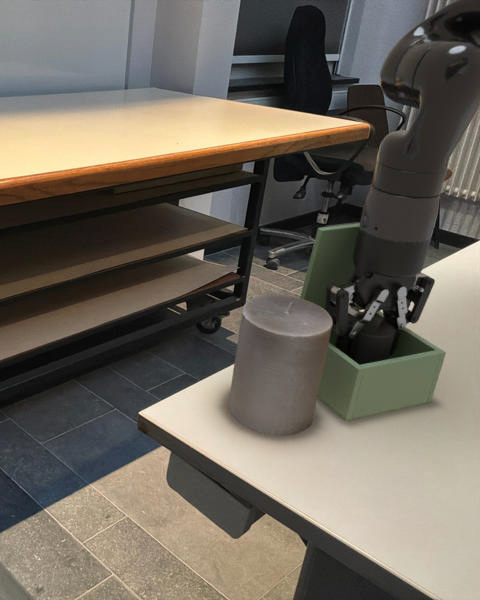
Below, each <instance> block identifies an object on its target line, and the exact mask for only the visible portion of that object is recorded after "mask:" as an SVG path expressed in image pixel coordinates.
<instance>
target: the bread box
mask: <svg viewBox="0 0 480 600" xmlns="http://www.w3.org/2000/svg"><path fill="white" fill-rule="evenodd" d="M353 317H354V316H353ZM373 317H376V318H379V319H382V320H384V316H383V311H382V310H381V311H378V312H375V314H374V316H373ZM337 336H338V334H337V333H335V332H334V331H332V330H331V333H330V338H329V343H328V348H327V352H326V358H325V362H324V367H323V371H322V376H321V381H320V385H319V390H318V395H317V398H319V399H320V400H321V401H322V402H323V403H325V404H326V405H327V406H328V407H329V408H330V409H331V410H333V411H334V412H335V413H336V414H337V415H338V416H340V417H341V418H342V419H343V420H344V421H345V422H349V421H352V420H357V419H363V418H366V417H370V416H376V415H380V414H384V413H388V412H392V411H397V410H403V409H406V408H411V407H416V406H420V405H425V404H429V403H431V402H432V399H433V397H434V394H435V390H436V386H437V383H438V381H439V377H440V374H441V371H442V367H443V363H444V361H445V358H446V354H447V353H446V351H445V350H443V349H442V348H439V347H438V346H437V345H435V344H434V343H432V342H431V341H428V340H427V339H425V338H424V337H422V336H420V335H419V334H418V333H416V332H414V331H413V330H411V329H409V328H408V327H407V326H406V327H405V328H404V329H403V330H401V332H400V336H399V339H398V343H397V347H396V349H395V350H394V352H393V355H392V356H389V357H388V360H382V361H377V362H372V363H367V364H362V365H359V364H358V363H356V362H355V361H354V360H352V359H351V358H349V357H348V356H347V355H345V354H344V353H343V352H341V351H340V350H339V349H337V348H336V347H335V345H336V340H337Z"/></svg>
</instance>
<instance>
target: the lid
mask: <svg viewBox="0 0 480 600" xmlns="http://www.w3.org/2000/svg"><path fill="white" fill-rule="evenodd" d="M359 225H360V221H358V222H357V221H355V222H349V223H348V222H346V223H338V224H329V225H324V226H322V227H317V230H316V233H315V234H316V235H315V239H314V242H313V247H312V249H311V253H310V257H309V260H308V265H307V268H306V269H307V270H306V273H305V278H304V281H303V285H302V289H301V293H300V296H299V298H300V299H304V300H307V301H310V302H312V303H314V304H316V305H318V306H320V307H322V308H323V309H324V310H326V289H327V286H328V285H329V284H330V283H335V284H336V285H338V286H339V285H342V284H345V283H348V282H349V279H350V278H351V276H352V275H353V273H354V271H355V265H354V261H353V252H354V248H355V243H356V239H357V234H358V230H359ZM356 308H357V310H359V311H364V309H363V308H361V307H360V306H358V305H356Z"/></svg>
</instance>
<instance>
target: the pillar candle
mask: <svg viewBox="0 0 480 600" xmlns="http://www.w3.org/2000/svg"><path fill="white" fill-rule="evenodd" d="M242 307H243V308H242V311H241V318H240V325H239V332H238V336H237V344H236V352H235V357H234V365H233V370H232V378H231V384H230V385H231V386H230V389H229V397H228V405H227V407H228V410H229V413H230V414H231V416H232V417H233V418H234V419H235V420H236V421H237V422H239V423H240V424H241V425H242V426H244V427H246V428H248V429H251V430H252V431H256V432H258V433H260V434H265V435H271V436H290V435H291V436H292V435H296V434H300V433H301V432H304V431H305V430H307V429H308V428H310V427H311V426H312V424H313V420H314V414H315V409H316V404H317V399H318V396H317V395H318V390H319V385H320V381H321V376H322V371H323V367H324V362H325V358H326V352H327V348H328V343H329V338H330V333H331V329H332V324H333V320H332V318H331V316H330V315H329V313H328V312H327V311H326V310H324V309H323V308H322V307H320V306H318V305H316V304H314V303H312V302H310V301H307V300H304V299H300V297H296V296H291V295H285V294H284V295H283V294H266V295H265V294H264V295H259V296H256V297H253V298H251V299H249V300H248V301H246V302H245V303H244V305H243V306H242Z"/></svg>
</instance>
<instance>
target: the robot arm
mask: <svg viewBox="0 0 480 600" xmlns="http://www.w3.org/2000/svg"><path fill="white" fill-rule="evenodd" d="M379 85H380V88H381V91H382V93H383V94H384V96H385V97H386V98H388V100H390V101H392V102H394V103H396V104H399V105H402V106H406V107H410V108H414V109H417V110H418V112H417V114H416V117H415V118H414V120H413V122H412V124H411V125H410V128H409V129H402V130H401V129H400V130H395V131H391V132H390V133H388V134H386V135H385V136H384V137H383V139H382V140H381V142H380V145H379V148H378V152H377V155H376V161H375V165H374V168H373V174H372V178H371V181H370V182H371V183H370V187H369V190H368V191H367V192H368V193H367V195H366V197H365V200H364V204H363V207H362V211H361V217H360V220H359V222H360V225H359V230H358V234H357V239H356V243H355V248H354V252H353V261H354V265H355V271H354V273H353V275H352V276H351V278H350V279H349V282H348V283H345V284H342V285H339V286H338V285H336V284H335V283H330V284H329V285H328V286H327V289H326V311H327V312H328V313H329V315H330V316H331V318H332V320H333V324H332V329H331V330H332V331H334V332H335V333H337V334H338V336H337V340H336V345H335V347H336V348H337V349H339V350H340V351H341V352H343V353H344V354H345V355H347V356H348V357H349V358H351V359H352V360H353V356H354V352H355V348H356V343H357V339H358V338H357V335H358V334H359V332H360V330H361V329H362V327H363V325H364V324H365V323H369V322H370V321H371V319H372V317H373V316H374V314H375V312H378V311H381V312H382V313H383V316H384V320H385V321H387V322H388V323H390V324H391V325H393V327H394V328H395V334H394V338H393V342H392V346H391V349H390V353H389V356H392V355H393V352H394V350H395V349H396V347H397V343H398V339H399V336H400V332H401V330H403V329H404V328H405V327H406V328H407V325H408V324H410V323H411V324H413V325H414V324H417V323H418V322H419V321H420V318H421V315H422V313H423V311H424V308H425V306H426V304H427V302H428V300H429V297H430V295H431V293H432V292H431V291H432V290H433V288H434V285H435V282H436V280H435V278H433V277H431V276H429V275H428V274H426V273H423V272H422V271H423V269H424V266H425V262H426V259H427V255H428V251H429V248H430V243H431V240H432V236H433V233H434V229H435V226H436V221H437V219H438V214H439V207H440V198H441V193H442V189H443V185H444V182H445V178H446V176H447V175H446V174H447V171H448V168H449V163H450V160H451V157H452V155H453V153H454V152H455V150H456V149H457V146H458V145H459V143H460V142H461V140H462V139H463V137H464V135H465V134H466V131H467V129H468V128H469V126H470V125H471V122H472V121H473V119H474V117H475V116H476V115H477V112H478V110H479V109H480V0H452V1H451V2H450V3H448V4H446V5H444V6H443V7H441V8H440V9H439V10H437V11H436V12H434V13H433V14H431V15H430V16H428V17H427V18H425V19H424V20H422V21H421V22H420V23H418V24H417V25H415V26H414V27H413V28H411V29H410V30H409V31H408V32H406V33H405V34H403V36H401V38H399V40H397V41H396V43H395V44H394V45H393V46H392V48H391V49H390V50H389V52H388V53H387V55H386V56H385V58H384V61H383V63H382V65H381V69H380V72H379ZM412 303H413V307H412V309H411V310H410V306H411V304H412ZM356 305H358V306H360V307H361V308H363V309H364V310H362V311H361V310H357V308H356ZM353 316H354V317H355V321H354V322H353V324H352V326H351V325H349V323H350V321H351V319H352V318H353Z"/></svg>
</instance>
